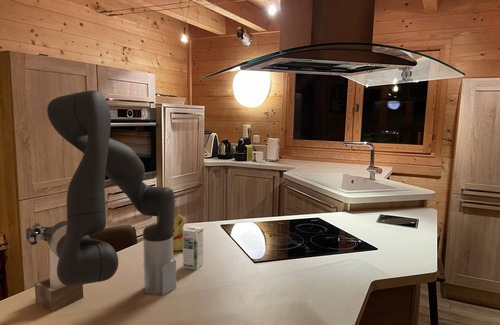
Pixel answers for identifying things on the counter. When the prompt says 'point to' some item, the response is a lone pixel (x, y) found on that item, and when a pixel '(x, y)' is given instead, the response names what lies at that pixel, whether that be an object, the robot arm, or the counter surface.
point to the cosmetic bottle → (54, 271)
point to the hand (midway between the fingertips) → (55, 224)
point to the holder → (56, 295)
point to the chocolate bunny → (178, 233)
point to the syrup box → (192, 247)
